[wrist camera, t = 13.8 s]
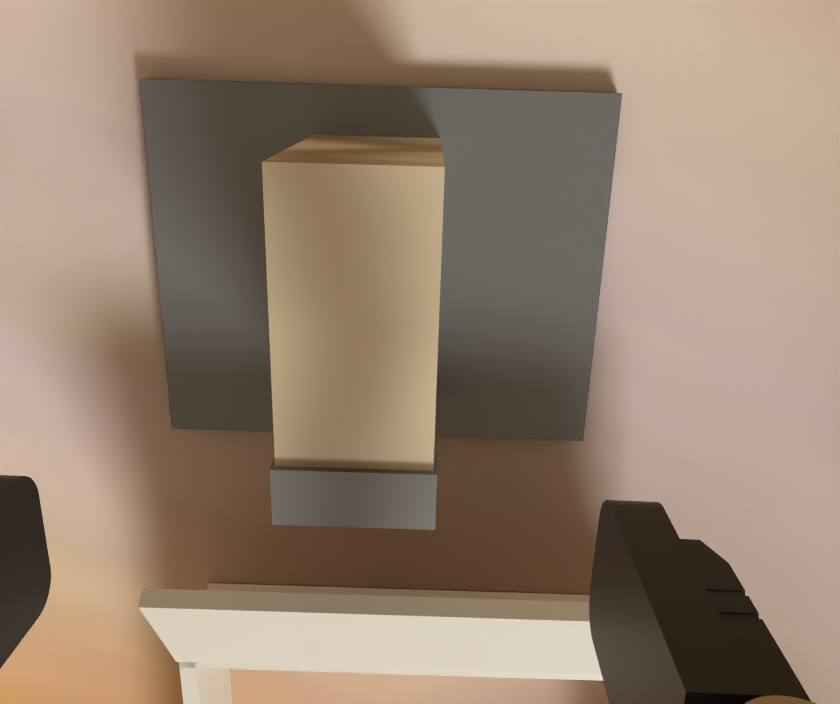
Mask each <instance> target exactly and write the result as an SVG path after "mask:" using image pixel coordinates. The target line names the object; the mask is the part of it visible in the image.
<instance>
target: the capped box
mask: <svg viewBox="0 0 840 704" xmlns="http://www.w3.org/2000/svg"><path fill="white" fill-rule="evenodd" d="M444 175H445V165H444V159H443V152H442V146H441V140H440V138H416V137H381V136H347V135H312V136H311V137H309V138H307V139H305V140H303V141H301V142H299V143H297V144H295V145H293V146H291V147H289V148H287V149H285V150H283V151H282V152H280V153H278V154H276V155H274V156H272V157H270V158H268V159H266V160H264V161H262V176H263V200H264V223H265V246H266V269H267V292H268V316H269V339H270V362H271V385H272V408H273V432H274V455H275V457H274V460H273V462H272V465H271V467H270V470H269V471H270V493H271V514H272V525H289V526H321V527H354V528H387V529H419V530H435V523H436V498H437V425H436V388H437V361H438V334H439V308H440V281H441V255H442V228H443V202H444Z"/></svg>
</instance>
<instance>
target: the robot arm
mask: <svg viewBox="0 0 840 704" xmlns="http://www.w3.org/2000/svg"><path fill="white" fill-rule="evenodd" d="M50 582H51V569H50V562H49V556H48V550H47V543H46V537H45V531H44V524H43V518H42V512H41V506H40V499H39V494H38V489H37V486H36V484H35V483H34V481H33V480H32V479H31V478H29V477H27V476H8V475H0V668H1V667H2V666H3V664H4V663H5V662H6V660H7V659H8V658H9V656H10V655H11V654H12V652H13V651H14V649H15V648H16V647H17V645H18V644H19V643H20V641H21V640H22V639H23V637H24V636H25V635H26V633H27V632H28V631H29V629H30V628H31V627H32V625H33V624H34V623H35V621H36V620H37V619H38V617H39V616H40V614H41V612H42V610H43V609H44V606H45V604H46V601H47V598H48V594H49V589H50ZM758 614H759V613H758V612H757V610H756V608H755V607H754V605H753V603H752V602H751V600H750V598H749V596H745V590H744V588H743V586H742V585H741V583H740V581H739V580H738V578H737V576H736V575H735V573H734V571H733V570H732V568H731V566H730V565H729V563H728V562H726V561H725V560H724V559H723V558H721V557H720V556H719V555H718V554H716V553H715V552H714V551H713V550H712V549H710V548H709V547H708V546H707V545H705V544H704V543H703V542H702V541H700V540H689V539H680V538H679V537H678V535H677V533H676V531H675V529H674V527H673V525H672V523H671V521H670V519H669V517H668V515H667V514H666V512H665V510H664V508H663V506H662V505H661V504H660V503H659V502H641V501H615V500H605V501H604V502H603V504H602V507H601V511H600V517H599V524H598V532H597V540H596V548H595V556H594V563H593V571H592V579H591V587H590V597H589V619H590V629H591V636H592V641H593V644H594V648H595V652H596V656H597V659H598V663H599V667H600V670H601V674H602V678H603V681H604V685H605V689H606V692H607V696H608V700H609V703H610V704H816V703H814V702H811V700H810V699H809V697H808V695H807V694H806V692H805V690H804V689H803V687H802V685H801V684H800V682H799V680H798V679H797V677H796V675H795V673H794V672H793V670H792V668H791V667H790V665H789V663H788V662H787V660H786V658H785V657H784V655H783V653H782V652H781V650H780V648H779V647H778V645H777V643H776V642H775V640H774V638H773V637H772V635H771V633H770V632H769V630H768V628H767V627H766V625H765V623H764V622H763V620H762V619H759V616H758Z"/></svg>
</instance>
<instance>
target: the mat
mask: <svg viewBox="0 0 840 704" xmlns="http://www.w3.org/2000/svg"><path fill="white" fill-rule="evenodd" d="M139 80H140V90H141V101H142V112H143V123H144V133H145V144H146V155H147V165H148V176H149V187H150V198H151V208H152V219H153V230H154V241H155V251H156V262H157V273H158V284H159V294H160V305H161V316H162V326H163V337H164V348H165V359H166V369H167V380H168V391H169V402H170V412H171V423H172V428H179V429H212V430H245V431H273V408H272V385H271V362H270V339H269V316H268V292H267V269H266V246H265V223H264V200H263V176H262V161H264V160H266V159H268V158H270V157H272V156H274V155H276V154H278V153H280V152H282V151H283V150H285V149H287V148H289V147H291V146H293V145H295V144H297V143H299V142H301V141H303V140H305V139H307V138H309V137H311V136H312V135H347V136H381V137H416V138H440V140H441V146H442V152H443V159H444V165H445V175H444V202H443V228H442V255H441V281H440V308H439V334H438V361H437V388H436V425H437V436H440V437H472V438H505V439H538V440H570V441H583V436H584V427H585V418H586V409H587V400H588V391H589V383H590V374H591V365H592V356H593V347H594V338H595V329H596V321H597V312H598V303H599V294H600V285H601V276H602V267H603V258H604V250H605V241H606V232H607V223H608V214H609V205H610V196H611V188H612V179H613V170H614V161H615V152H616V143H617V134H618V125H619V117H620V108H621V99H622V93H602V92H568V91H534V90H501V89H467V88H433V87H399V86H365V85H332V84H298V83H264V82H230V81H197V80H163V79H139Z"/></svg>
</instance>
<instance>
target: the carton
mask: <svg viewBox="0 0 840 704" xmlns="http://www.w3.org/2000/svg"><path fill="white" fill-rule="evenodd" d="M589 597H590V595H573V594H541V593H509V592H477V591H445V590H413V589H381V588H349V587H317V586H285V585H253V584H221V583H209V584H208V586H207V589H206V590H186V589H154V588H143V592H142V596H141V599H140V603H139V607H138V608H139V609H140V610H141V612H142V613H143V615H144V616H145V618H146V619H147V620H148V622H149V623H150V625H151V626H152V628H153V629H154V631H155V632H156V633H157V635H158V636H159V638H160V639H161V641H162V642H163V644H164V645H165V646H166V648H167V649H168V651H169V652H170V654H171V655H172V656H173V658H174V659H175V661H176V662H179V667H180V677H181V687H182V696H183V704H233V703H232V690H231V676H230V669H249V670H281V671H313V672H345V673H376V674H408V675H440V676H472V677H503V678H535V679H567V680H599V681H603V678H602V674H601V670H600V667H599V663H598V659H597V656H596V652H595V648H594V644H593V641H592V636H591V629H590V619H589Z"/></svg>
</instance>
